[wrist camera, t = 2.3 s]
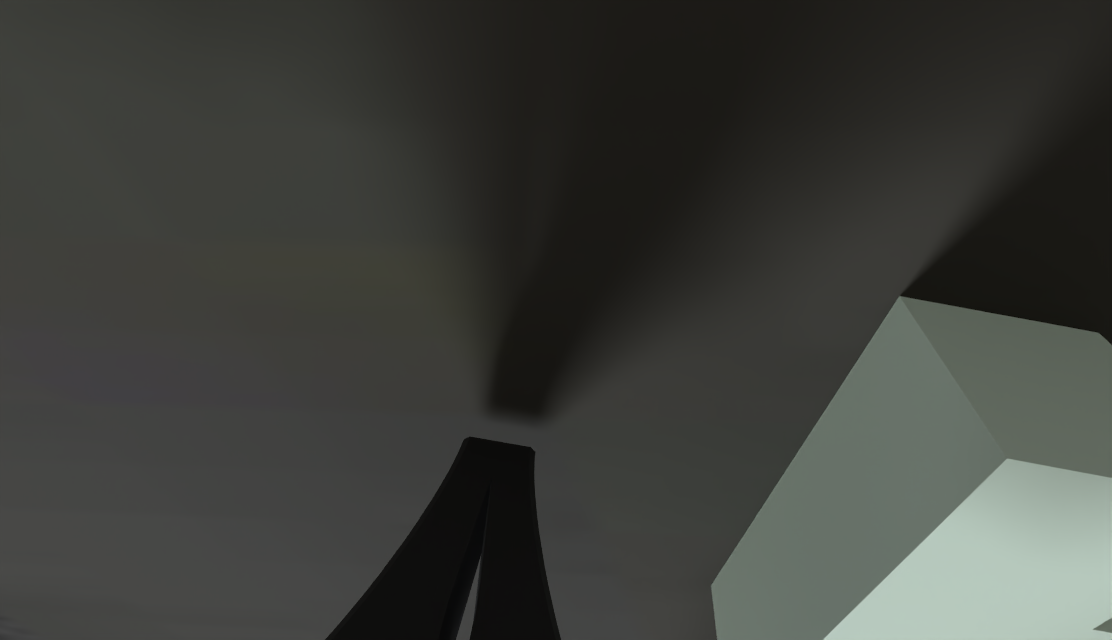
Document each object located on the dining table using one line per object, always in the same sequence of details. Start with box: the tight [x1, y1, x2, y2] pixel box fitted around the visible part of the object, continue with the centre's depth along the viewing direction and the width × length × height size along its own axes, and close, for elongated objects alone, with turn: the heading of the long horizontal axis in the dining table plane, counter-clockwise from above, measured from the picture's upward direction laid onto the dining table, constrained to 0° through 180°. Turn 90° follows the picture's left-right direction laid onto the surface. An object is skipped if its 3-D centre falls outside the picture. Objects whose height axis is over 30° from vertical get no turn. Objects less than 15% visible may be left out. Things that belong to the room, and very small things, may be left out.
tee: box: [711, 296, 1112, 640], centre depth 11 cm, size 10×10×4 cm
